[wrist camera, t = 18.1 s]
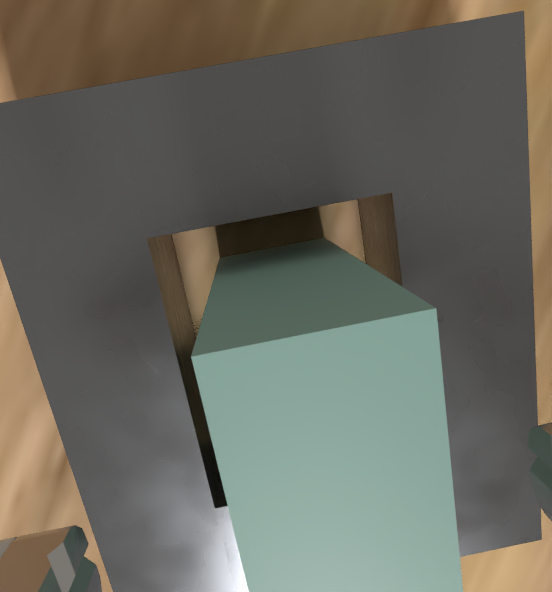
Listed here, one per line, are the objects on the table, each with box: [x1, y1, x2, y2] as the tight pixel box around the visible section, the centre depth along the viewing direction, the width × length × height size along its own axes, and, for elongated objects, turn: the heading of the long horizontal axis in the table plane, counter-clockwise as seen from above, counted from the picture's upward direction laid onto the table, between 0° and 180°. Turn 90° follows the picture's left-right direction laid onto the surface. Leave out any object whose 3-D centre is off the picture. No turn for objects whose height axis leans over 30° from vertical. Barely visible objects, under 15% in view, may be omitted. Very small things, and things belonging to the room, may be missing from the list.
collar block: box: [0, 11, 542, 592], centre depth 16 cm, size 15×17×4 cm
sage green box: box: [191, 238, 463, 592], centre depth 13 cm, size 4×6×10 cm, turn 10°
